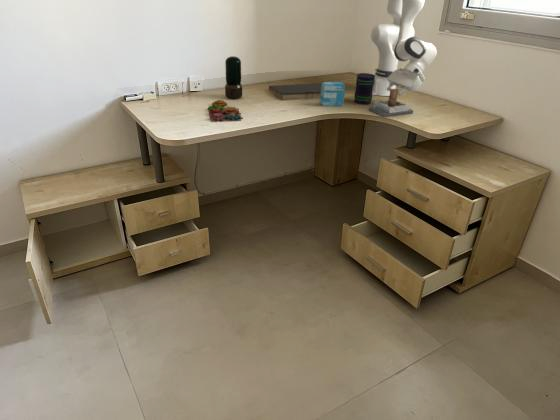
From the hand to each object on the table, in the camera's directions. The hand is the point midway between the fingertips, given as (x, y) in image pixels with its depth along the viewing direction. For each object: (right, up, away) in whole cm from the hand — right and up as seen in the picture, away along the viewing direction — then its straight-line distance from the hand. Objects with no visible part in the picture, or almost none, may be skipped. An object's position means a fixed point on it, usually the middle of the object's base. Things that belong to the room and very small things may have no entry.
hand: (393, 92), depth 222 cm
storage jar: (-12, 0, +19) cm, 23 cm away
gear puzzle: (-87, -12, -5) cm, 88 cm away
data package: (-31, -4, +12) cm, 33 cm away
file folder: (-46, +7, +31) cm, 56 cm away
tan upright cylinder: (0, -7, +4) cm, 9 cm away
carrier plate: (0, -9, +5) cm, 10 cm away
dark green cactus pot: (-85, +2, +18) cm, 87 cm away
